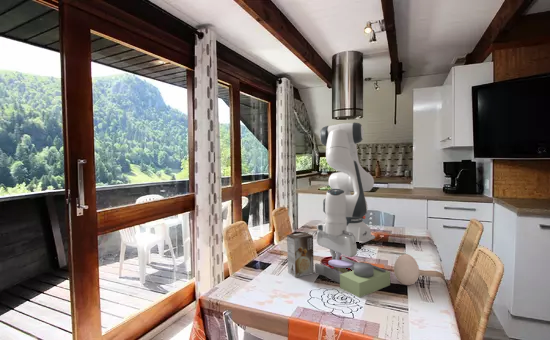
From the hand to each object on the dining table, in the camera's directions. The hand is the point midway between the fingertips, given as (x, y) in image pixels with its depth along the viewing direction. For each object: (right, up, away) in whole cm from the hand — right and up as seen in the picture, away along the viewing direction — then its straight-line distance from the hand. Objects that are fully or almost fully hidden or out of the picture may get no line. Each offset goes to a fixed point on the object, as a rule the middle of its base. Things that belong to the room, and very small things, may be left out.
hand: (335, 260), depth 122 cm
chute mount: (+2, -5, -3) cm, 6 cm away
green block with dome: (+8, -5, -14) cm, 17 cm away
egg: (+24, -5, -13) cm, 27 cm away
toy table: (+1, -5, -5) cm, 7 cm away
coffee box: (-15, -5, -1) cm, 16 cm away
